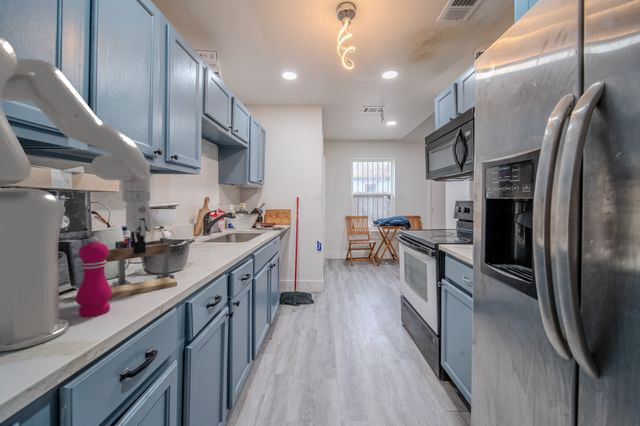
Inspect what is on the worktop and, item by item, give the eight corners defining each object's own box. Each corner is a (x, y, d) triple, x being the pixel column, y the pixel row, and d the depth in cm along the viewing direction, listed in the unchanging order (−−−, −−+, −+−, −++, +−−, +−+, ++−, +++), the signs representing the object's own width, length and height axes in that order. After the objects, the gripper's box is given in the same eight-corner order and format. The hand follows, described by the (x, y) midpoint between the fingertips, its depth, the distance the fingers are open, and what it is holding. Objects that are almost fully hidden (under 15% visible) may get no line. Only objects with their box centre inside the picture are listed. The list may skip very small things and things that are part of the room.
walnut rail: (105, 262, 82) (104, 252, 81) (103, 261, 83) (102, 250, 83) (169, 252, 95) (168, 244, 95) (166, 251, 97) (166, 243, 96)
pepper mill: (119, 308, 74) (118, 235, 73) (94, 319, 66) (93, 238, 66) (95, 306, 74) (94, 234, 74) (68, 317, 67) (66, 238, 67)
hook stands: (117, 288, 90) (116, 243, 90) (112, 285, 94) (112, 241, 93) (174, 278, 104) (174, 238, 103) (168, 275, 108) (168, 237, 107)
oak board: (97, 302, 78) (97, 297, 78) (91, 295, 83) (91, 290, 83) (177, 285, 94) (177, 281, 94) (168, 281, 100) (168, 277, 100)
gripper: (158, 197, 86) (159, 254, 87) (141, 197, 96) (143, 248, 97) (130, 197, 80) (132, 258, 81) (116, 197, 90) (117, 251, 91)
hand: (138, 252), depth 89 cm, fingers closed on walnut rail, 2 cm apart
